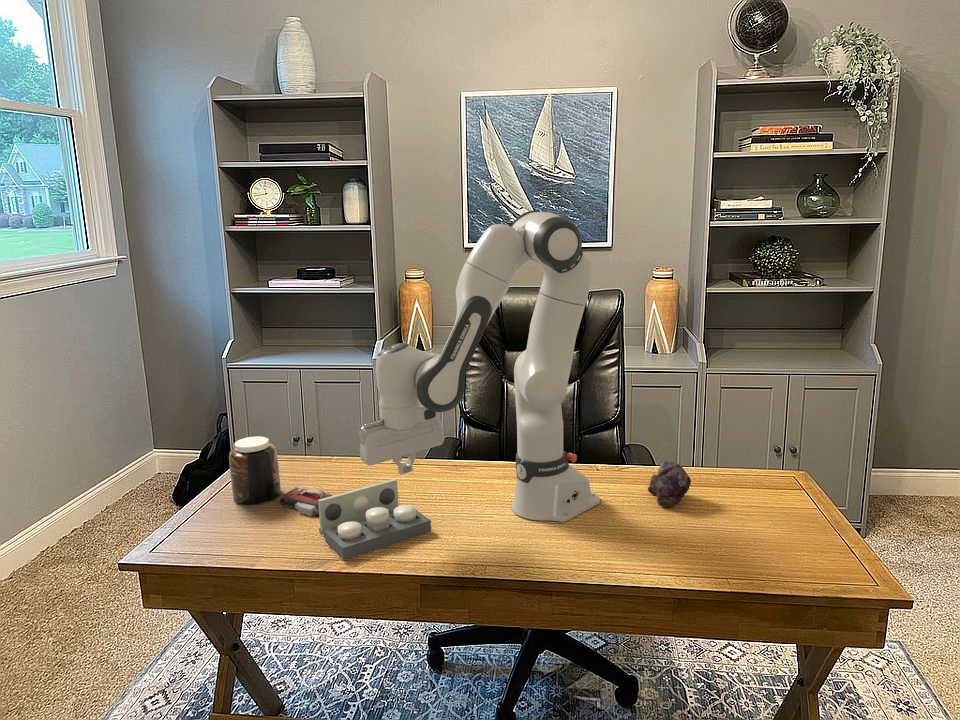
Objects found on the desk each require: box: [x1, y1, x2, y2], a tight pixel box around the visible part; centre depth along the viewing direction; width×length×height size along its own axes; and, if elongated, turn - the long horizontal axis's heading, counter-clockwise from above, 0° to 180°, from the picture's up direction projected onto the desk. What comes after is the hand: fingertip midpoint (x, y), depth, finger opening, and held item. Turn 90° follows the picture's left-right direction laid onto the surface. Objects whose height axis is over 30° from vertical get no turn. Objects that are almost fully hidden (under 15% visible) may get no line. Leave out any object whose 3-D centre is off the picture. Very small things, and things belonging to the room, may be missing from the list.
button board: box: [324, 509, 432, 561], centre depth 173 cm, size 22×10×3 cm, turn 124°
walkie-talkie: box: [278, 487, 334, 517], centre depth 189 cm, size 9×4×20 cm
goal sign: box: [318, 478, 400, 537], centre depth 180 cm, size 20×3×8 cm, turn 124°
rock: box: [647, 460, 692, 508], centre depth 188 cm, size 12×9×10 cm
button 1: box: [338, 522, 362, 542], centre depth 169 cm, size 5×5×4 cm
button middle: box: [366, 507, 389, 533], centre depth 172 cm, size 5×5×4 cm
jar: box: [228, 435, 282, 506], centre depth 196 cm, size 12×12×15 cm
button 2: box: [394, 504, 417, 524], centre depth 176 cm, size 5×5×4 cm
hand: (405, 472), depth 174 cm, fingers closed
